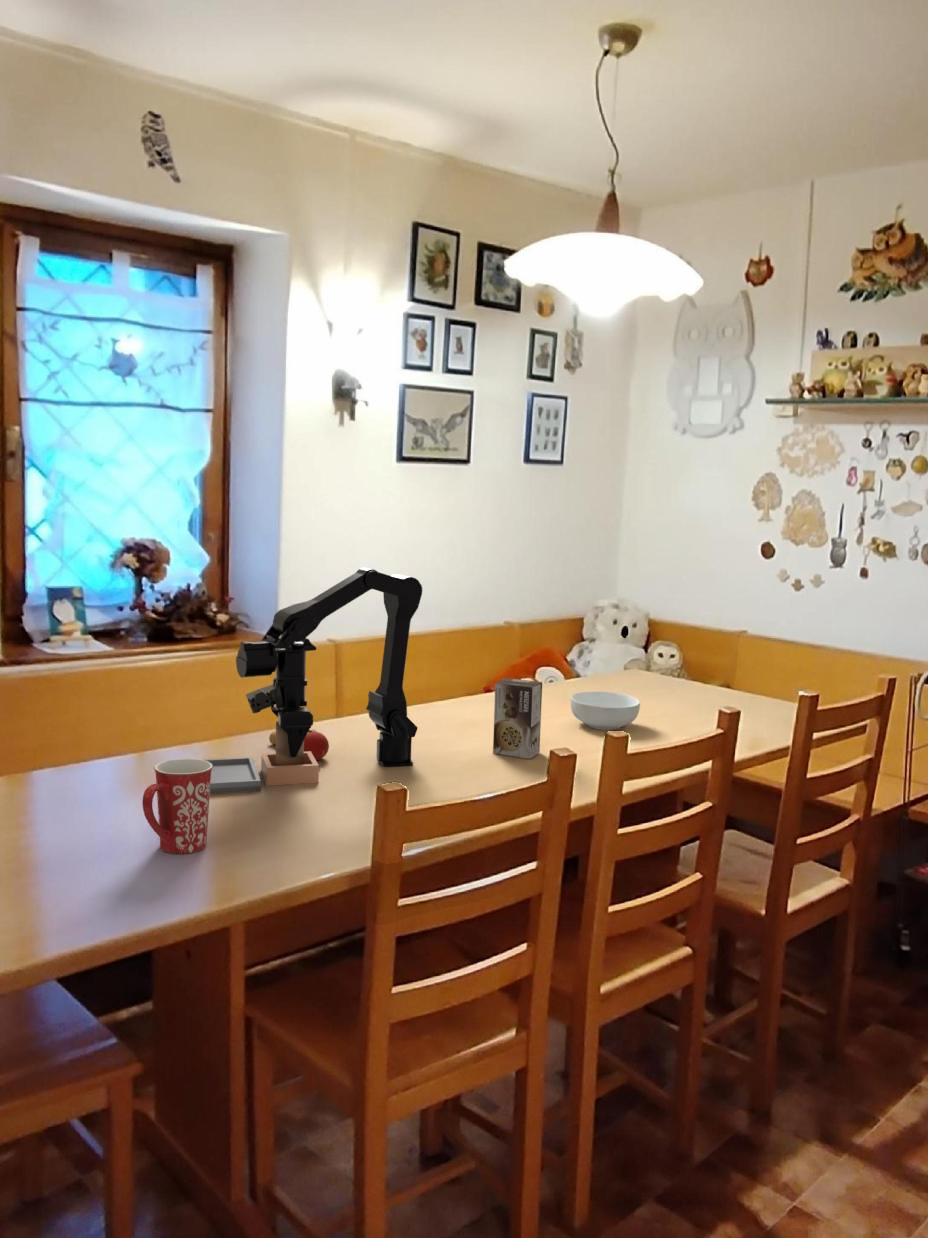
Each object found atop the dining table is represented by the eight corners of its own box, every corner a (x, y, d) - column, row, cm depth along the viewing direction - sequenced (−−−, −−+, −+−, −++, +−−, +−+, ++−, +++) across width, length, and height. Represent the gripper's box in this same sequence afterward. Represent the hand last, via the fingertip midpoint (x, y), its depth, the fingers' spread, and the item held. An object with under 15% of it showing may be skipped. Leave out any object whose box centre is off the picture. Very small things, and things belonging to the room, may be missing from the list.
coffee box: (540, 752, 230) (544, 681, 227) (529, 760, 224) (533, 687, 221) (502, 746, 233) (505, 676, 231) (491, 753, 228) (494, 681, 225)
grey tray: (252, 766, 211) (252, 757, 211) (260, 790, 196) (260, 780, 196) (196, 769, 208) (196, 759, 208) (201, 794, 193) (201, 784, 193)
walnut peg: (301, 771, 209) (301, 718, 208) (305, 780, 204) (306, 725, 202) (273, 773, 208) (274, 720, 206) (277, 781, 202) (277, 726, 201)
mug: (184, 832, 174) (184, 754, 172) (224, 844, 169) (224, 764, 167) (124, 854, 163) (123, 772, 161) (164, 868, 158) (164, 783, 156)
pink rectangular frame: (310, 767, 212) (310, 751, 212) (318, 782, 203) (318, 765, 202) (261, 770, 209) (261, 753, 209) (266, 785, 200) (267, 768, 199)
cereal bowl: (560, 729, 251) (562, 701, 250) (579, 715, 266) (581, 688, 265) (629, 738, 245) (631, 709, 244) (644, 723, 260) (646, 696, 259)
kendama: (257, 753, 226) (305, 761, 213) (259, 724, 226) (308, 730, 213) (287, 754, 231) (336, 761, 218) (289, 725, 232) (338, 731, 219)
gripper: (244, 665, 209) (244, 740, 211) (254, 684, 192) (253, 766, 194) (299, 663, 212) (298, 737, 215) (314, 683, 195) (312, 763, 197)
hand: (290, 750), depth 205 cm, fingers open, 9 cm apart
